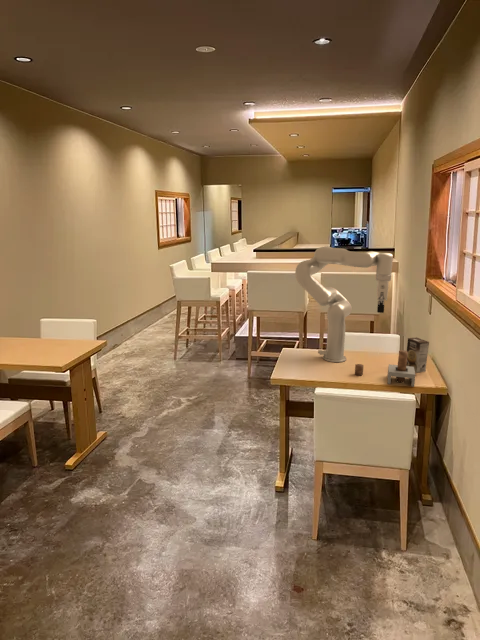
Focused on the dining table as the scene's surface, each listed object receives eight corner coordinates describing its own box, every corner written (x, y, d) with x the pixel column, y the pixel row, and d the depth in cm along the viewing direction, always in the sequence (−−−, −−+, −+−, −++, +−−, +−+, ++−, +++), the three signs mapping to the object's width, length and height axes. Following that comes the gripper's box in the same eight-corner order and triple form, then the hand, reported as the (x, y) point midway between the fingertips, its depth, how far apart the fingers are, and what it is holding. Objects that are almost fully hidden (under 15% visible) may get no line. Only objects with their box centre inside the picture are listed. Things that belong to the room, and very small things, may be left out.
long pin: (396, 381, 244) (399, 352, 240) (396, 379, 248) (398, 349, 244) (404, 382, 243) (407, 353, 239) (404, 380, 247) (407, 350, 243)
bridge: (387, 383, 241) (388, 371, 240) (387, 375, 252) (388, 364, 251) (414, 386, 238) (415, 374, 237) (412, 378, 249) (413, 366, 248)
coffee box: (404, 367, 266) (407, 338, 262) (413, 366, 268) (416, 336, 264) (416, 372, 257) (419, 342, 254) (426, 371, 260) (429, 341, 256)
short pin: (354, 375, 252) (355, 366, 250) (354, 373, 255) (355, 363, 254) (362, 376, 251) (363, 366, 249) (362, 373, 254) (363, 364, 253)
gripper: (391, 280, 246) (388, 314, 250) (390, 275, 262) (387, 307, 266) (375, 279, 248) (372, 313, 252) (375, 274, 264) (373, 306, 268)
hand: (380, 310), depth 259 cm, fingers open, 9 cm apart
